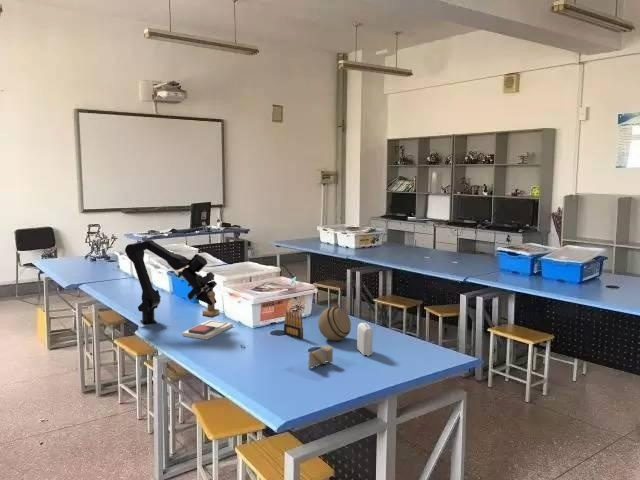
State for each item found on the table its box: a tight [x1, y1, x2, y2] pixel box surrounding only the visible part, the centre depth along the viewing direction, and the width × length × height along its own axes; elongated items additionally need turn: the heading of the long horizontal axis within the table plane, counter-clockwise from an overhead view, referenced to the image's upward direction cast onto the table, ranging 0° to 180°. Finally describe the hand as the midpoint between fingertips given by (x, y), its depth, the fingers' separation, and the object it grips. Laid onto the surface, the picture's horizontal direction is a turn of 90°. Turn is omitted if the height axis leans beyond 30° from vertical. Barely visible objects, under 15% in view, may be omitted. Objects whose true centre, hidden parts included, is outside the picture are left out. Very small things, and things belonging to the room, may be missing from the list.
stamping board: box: [181, 319, 234, 340], centre depth 254 cm, size 22×13×2 cm, turn 159°
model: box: [308, 345, 334, 369], centre depth 212 cm, size 3×11×8 cm, turn 141°
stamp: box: [202, 290, 220, 319], centre depth 255 cm, size 6×6×12 cm
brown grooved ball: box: [318, 306, 352, 342], centre depth 244 cm, size 15×15×15 cm
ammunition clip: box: [283, 308, 304, 340], centre depth 248 cm, size 11×2×12 cm, turn 48°
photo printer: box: [356, 322, 374, 356], centre depth 228 cm, size 10×4×12 cm, turn 14°
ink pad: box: [188, 324, 215, 335], centre depth 249 cm, size 9×8×1 cm
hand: (214, 303), depth 254 cm, fingers closed on stamp, 3 cm apart
